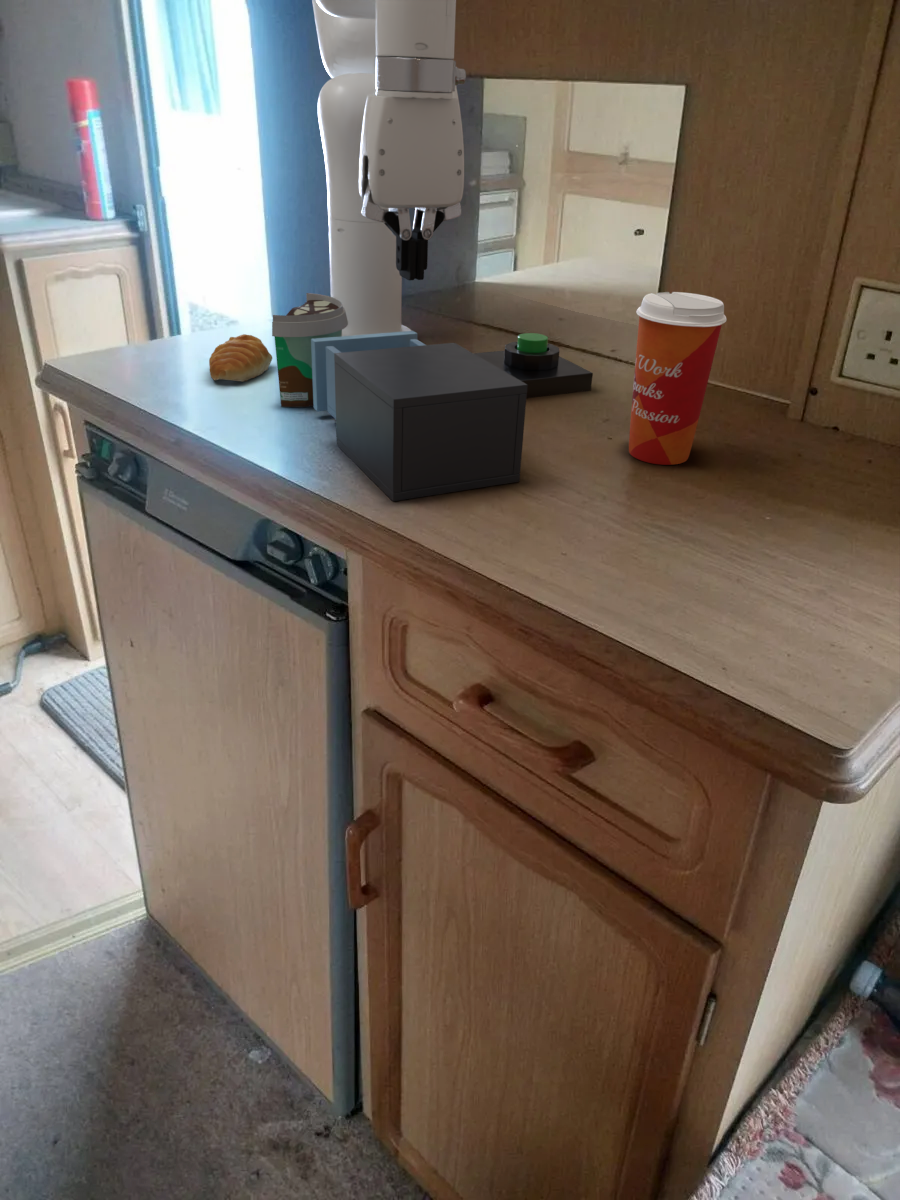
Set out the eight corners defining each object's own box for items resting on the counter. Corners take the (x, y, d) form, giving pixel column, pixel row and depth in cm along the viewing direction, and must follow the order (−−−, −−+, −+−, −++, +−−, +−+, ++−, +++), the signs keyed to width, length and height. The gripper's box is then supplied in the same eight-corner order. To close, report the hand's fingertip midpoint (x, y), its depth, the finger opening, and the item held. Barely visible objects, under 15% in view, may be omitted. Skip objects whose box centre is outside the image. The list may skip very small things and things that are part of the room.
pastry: (253, 387, 105) (251, 354, 103) (196, 384, 105) (192, 351, 103) (275, 365, 113) (273, 334, 111) (221, 362, 113) (218, 331, 111)
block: (470, 370, 114) (472, 338, 112) (539, 364, 118) (542, 332, 116) (517, 399, 105) (520, 365, 103) (590, 391, 109) (594, 357, 107)
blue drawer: (297, 392, 101) (294, 326, 97) (393, 383, 105) (393, 318, 102) (358, 451, 86) (357, 375, 83) (466, 437, 91) (469, 364, 87)
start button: (511, 348, 110) (512, 334, 109) (537, 346, 112) (538, 331, 111) (526, 356, 107) (527, 341, 107) (552, 353, 109) (553, 339, 108)
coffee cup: (601, 444, 93) (621, 292, 86) (668, 435, 96) (693, 288, 88) (648, 474, 86) (673, 312, 79) (718, 464, 89) (749, 307, 82)
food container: (331, 416, 97) (329, 320, 92) (276, 410, 98) (270, 316, 93) (361, 383, 108) (360, 296, 103) (311, 378, 109) (308, 291, 104)
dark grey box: (336, 444, 90) (334, 353, 86) (451, 430, 95) (454, 342, 90) (393, 501, 79) (393, 399, 74) (519, 481, 84) (527, 384, 79)
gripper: (468, 82, 94) (460, 268, 103) (328, 76, 88) (333, 273, 98) (500, 84, 88) (489, 281, 97) (353, 78, 83) (356, 288, 92)
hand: (411, 277), depth 97 cm, fingers closed
